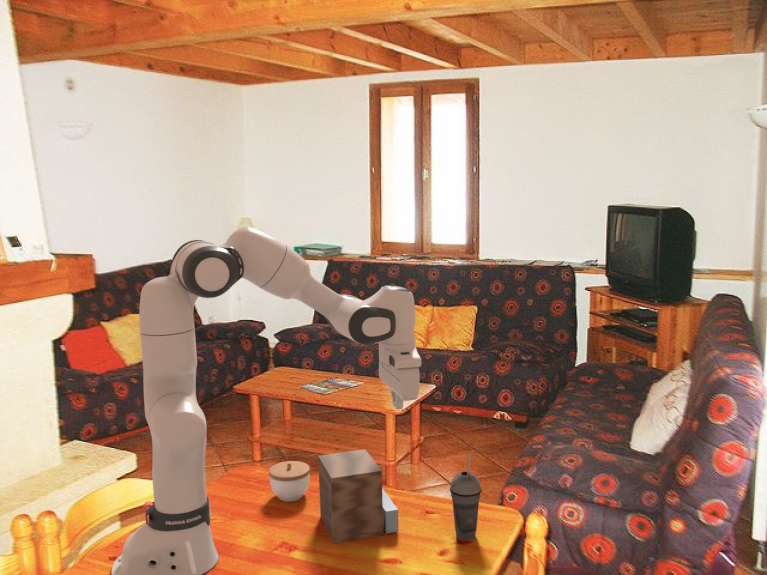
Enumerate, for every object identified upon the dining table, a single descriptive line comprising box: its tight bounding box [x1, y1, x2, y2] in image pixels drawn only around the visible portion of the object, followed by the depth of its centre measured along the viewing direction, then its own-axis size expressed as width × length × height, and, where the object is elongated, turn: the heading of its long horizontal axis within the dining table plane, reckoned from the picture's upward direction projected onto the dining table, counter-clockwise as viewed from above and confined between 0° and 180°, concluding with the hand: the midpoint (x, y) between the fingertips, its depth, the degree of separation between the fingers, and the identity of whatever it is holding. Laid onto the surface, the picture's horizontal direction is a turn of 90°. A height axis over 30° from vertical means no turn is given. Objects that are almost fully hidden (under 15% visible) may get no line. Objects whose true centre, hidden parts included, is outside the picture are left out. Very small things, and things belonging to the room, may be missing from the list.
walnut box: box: [317, 448, 384, 544], centre depth 176 cm, size 12×14×16 cm
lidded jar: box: [268, 460, 311, 503], centre depth 193 cm, size 11×11×9 cm
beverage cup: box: [449, 454, 482, 542], centre depth 170 cm, size 7×7×20 cm
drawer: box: [382, 487, 399, 534], centre depth 178 cm, size 14×15×6 cm
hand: (397, 407), depth 179 cm, fingers closed
